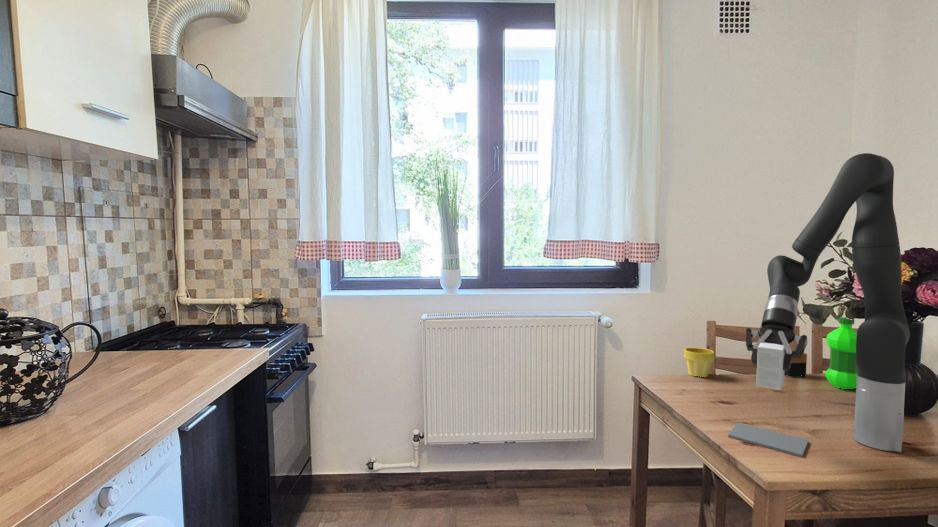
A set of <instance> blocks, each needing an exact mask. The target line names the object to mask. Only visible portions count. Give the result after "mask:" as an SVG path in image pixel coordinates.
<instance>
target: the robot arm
mask: <svg viewBox="0 0 938 527" xmlns="http://www.w3.org/2000/svg"><path fill="white" fill-rule="evenodd" d="M894 177H895V170H894V165H893V163H892V162H891V161H890V160H889V159H888V158H886V157H884V156H882V155H879V154H874V153H868V152H867V153H858V154H855V155H853V156H851V157H850V158H848V159H847V160H846V161H845V162H844V164H843V165H842V167H841V168H840V169H839V172H838V173H837V175H836V177H835V179H834V181H833V183H832V185H831V187H830V188H829V191H828V193H827V195H826V196H825V198H824V199H823V201H822V203H821V204H820V206H819V207H818V209H817V211H816V212H815V213H814V215H813V216H812V217H811V219H810V220H809V221H808V222H807V223H806V226H805V227H804V228H803V229H802V230H801V232H800V233H799V234H798V236H797V238H795V240H794V241H793V243H792V245H791V248H792V250H793V251H794V252H795V253H797V254H798V255H800V256H802V258H803V259H802V261H798V260H796V259H795V258H792V257H789V256H786V255H784V254H783V255H782V254H781V255H776V256H774V257H773V258H772V259H771V260H770V261H769V262H768V265H767V270H766V271H767V272H766V273H767V279H768V283H769V284H768V285H769V293H768V298H767V301H766V304H765V307H764V311H763V315H762V320H761V323H760V327H759V328H758V329H757V330H756V329H752V328H750V327H747V328H746V329H745V346H746V350H747V351H748V352H751V357H750V359H751V363H752V364H753V366H756V367H757V348H758V346H759V344H760V343H764V342H767V343H774V344H780V345H783V346H784V347H785V356H784V362H783V370H785V371H787V369H790V368H791V362H792V359H793V358H798V359H800V358H802V355H803V353H805V350H806V347H807V345H808V344H809V343H808V335H806V334H802V335H797V334H796V333H795V331H796V330H795V328H796V324H797V319H798V316H799V315H798V312H799V308H798V306H799V301H800V296H801V295H800V294H801V290H800V288H799V287H801V286H804V285H805V284H807V283H808V282H809V281H810V279H811V276H812V273H813V271H814V268H815V265H816V263H817V261H818V259H819V257H820V256H821V254H823V251H825V249H826V248H827V246H828V245H829V244H830V243H831V241H832V240H833V239H834V237H835V236H836V234H837V233H838V231H839V230H840V227H841V225H842V223H843V221H844V219H845V217H846V215H847V214H848V212H849V210H851V208H852V206H853V205H854V204H855V203H856V204H855V205H856V217H855V220H854V226H853V230H852V234H851V235H852V236H851V252H852V253H851V254H852V255H851V256H852V262H853V269H854V272H855V275H856V278H857V280H858V283H859V285H860V286H859V287H860V288H861V291H862V295H863V298H864V300H863V301H864V321H863V322H862V323H861V324H860V325H859V326H858V328H857V331H856V332H857V336H856V366H857V384H856V388H855V389H856V390H855V405H854V407H855V408H854V425H853V439H854V441H856V442H857V443H859V444H861V445H863V446H866V447H870V448H872V449H875V450H881V451H886V452H896V453H902V452H903V438H904V435H903V434H904V424H905V423H904V421H905V410H904V409H905V398H906V397H905V395H906V383H907V382H906V381H907V380H906V379H907V373H906V366H905V364H906V363H905V360H906V347H907V346H906V345H907V344H908V342H909V341H910V338H911V331H910V328H909V323H908V321H907V316H906V312H905V307H904V304H903V297H902V287H903V286H902V283H903V281H902V280H903V278H902V277H903V275H902V270H903V269H902V255H901V245H900V237H899V232H898V226H897V220H896V214H895V210H894V181H895V180H894V179H895V178H894ZM756 336H758V337H759V339H758V340H757V342H756V343H755V344H753V339H755V338H756ZM794 341H796V344H797V345H796V348H795V349H794V350H792V348H791V346H790V344H791V343H792V342H794ZM791 350H792V351H791Z"/></svg>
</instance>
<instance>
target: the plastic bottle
mask: <svg viewBox="0 0 938 527" xmlns="http://www.w3.org/2000/svg"><path fill="white" fill-rule="evenodd" d="M840 317H841V318H840V319H839V318H838V324H839V327H838V328H836V329H834V330H832V331H831V332H829V333H828V334H827V336H826V339H825V340H826V342H825V343H826V345H827V346H828V347H829V348H830V354H829V367H828V369H827V370H826V372H825V377H826V379H827V381H828V382H829V383H830V384H831V386H833V387H834V388H835V387H837V388H836V389H838V388H841V389H840V390H843V389H853V390H854V389H856V384H857V366H856V336H857V331H856V330H854V329H853V325H855V318H853V319H852V320H850V319H847V318H848V317H845V316H840Z"/></svg>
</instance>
